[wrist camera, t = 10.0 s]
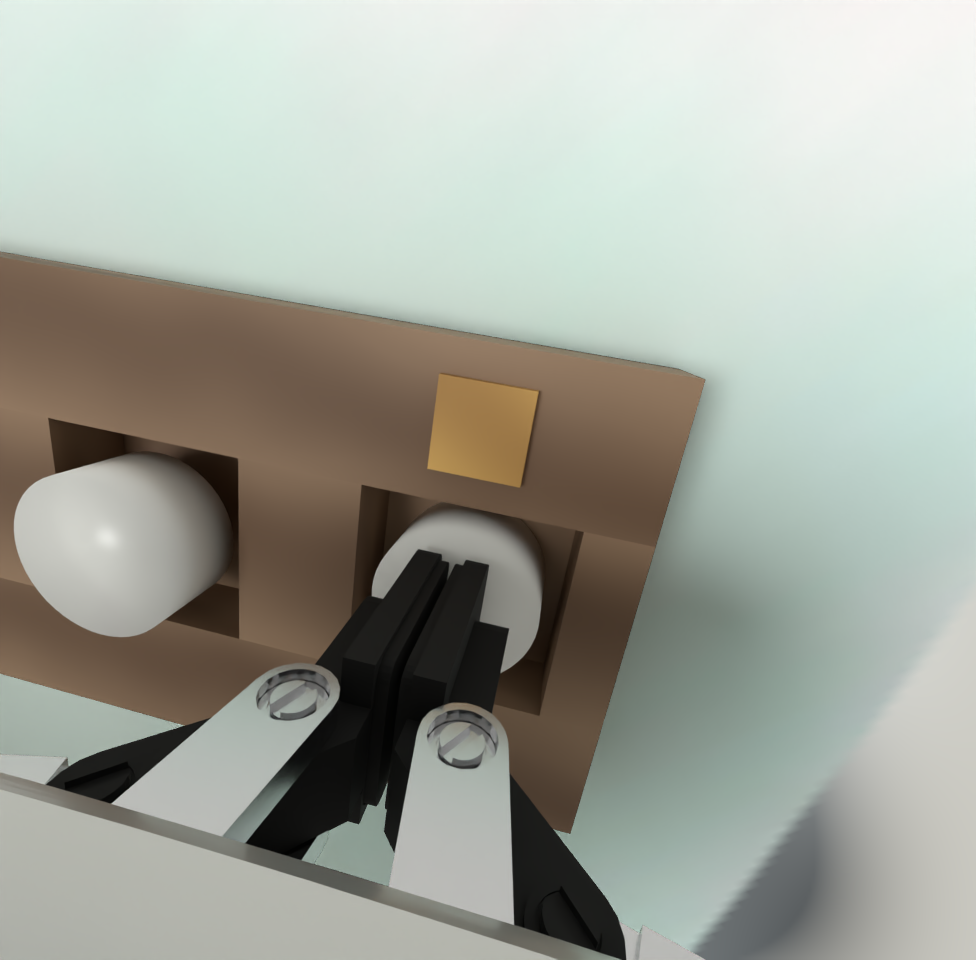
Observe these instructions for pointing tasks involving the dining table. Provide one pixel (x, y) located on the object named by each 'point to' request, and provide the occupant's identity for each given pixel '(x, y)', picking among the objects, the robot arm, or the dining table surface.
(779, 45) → the dining table surface
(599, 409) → the button panel
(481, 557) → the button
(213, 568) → the button middle
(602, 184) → the dining table surface
